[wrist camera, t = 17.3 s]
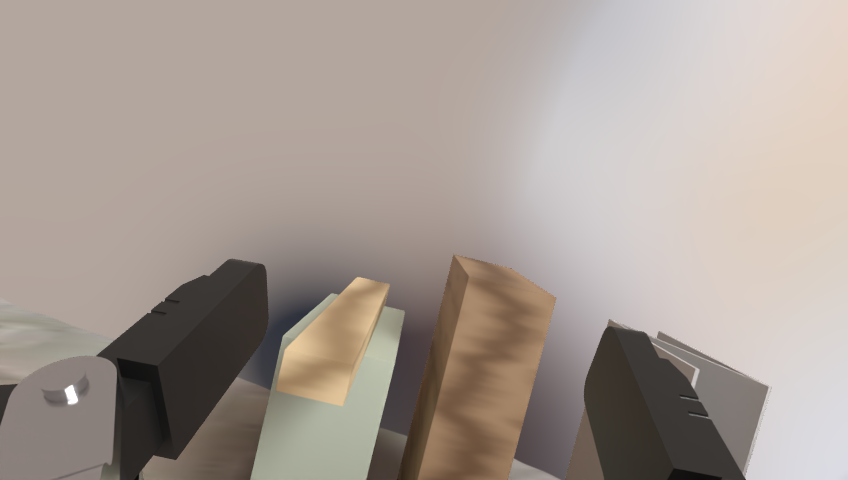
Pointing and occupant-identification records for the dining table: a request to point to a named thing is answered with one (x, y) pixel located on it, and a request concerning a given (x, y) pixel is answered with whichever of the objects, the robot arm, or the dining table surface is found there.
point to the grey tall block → (718, 392)
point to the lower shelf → (329, 414)
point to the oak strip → (333, 345)
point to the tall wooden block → (477, 374)
